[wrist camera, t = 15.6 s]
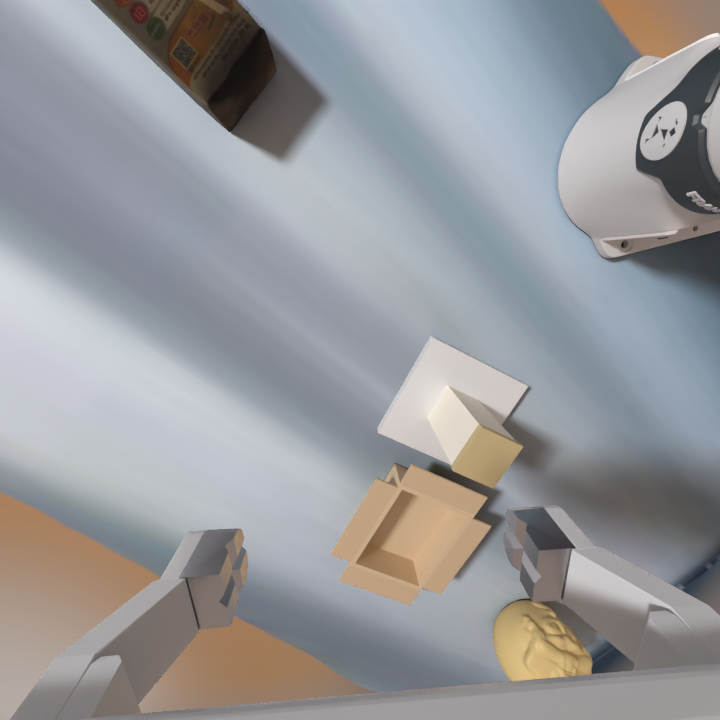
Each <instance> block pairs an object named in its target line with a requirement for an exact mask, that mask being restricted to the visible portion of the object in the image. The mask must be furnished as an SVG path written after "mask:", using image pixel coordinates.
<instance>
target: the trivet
mask: <svg viewBox="0 0 720 720" xmlns="http://www.w3.org/2000/svg"><path fill="white" fill-rule="evenodd" d="M447 386H450V387H452V388H454V389H456V390H458V391H460V392H462V393H464V394H466V395H468V396H471V397H473V398H475V399H477V400H478V401H479V402H480V403H481V404H482V405H483V406H484V407H485V408H486V409H487V410H488V411H489V413H490V414H491V415H492V416H493V417H494V418H495V419H496V420H497V421H498V422H499V423H500V424H501V425H502V424H503V422H504V421H505V420H506V418H507V417H508V415H509V414H510V412H511V411H512V409H513V408H514V407H515V405H516V404H517V402H518V401H519V399H520V398H521V396H522V395H523V393H524V392H525V391H526V389H527V388H528V386H527V385H526V384H524V383H522V382H521V381H519V380H517V379H515V378H513V377H511V376H509V375H507V374H505V373H503V372H501V371H499V370H497V369H495V368H493V367H491V366H489V365H487V364H485V363H483V362H481V361H480V360H478V359H476V358H474V357H472V356H470V355H468V354H466V353H464V352H462V351H460V350H458V349H456V348H454V347H452V346H450V345H448V344H446V343H444V342H442V341H440V340H439V339H437V338H435V337H433V336H430V338H429V340H428V342H427V343H426V345H425V347H424V349H423V350H422V352H421V354H420V355H419V357H418V359H417V361H416V362H415V364H414V366H413V367H412V369H411V371H410V373H409V374H408V376H407V378H406V380H405V381H404V383H403V385H402V386H401V388H400V390H399V392H398V393H397V395H396V397H395V399H394V400H393V402H392V404H391V405H390V407H389V409H388V411H387V412H386V414H385V416H384V418H383V419H382V421H381V423H380V424H379V426H378V428H377V430H378V433H380V434H382V435H384V436H386V437H389V438H391V439H393V440H396V441H398V442H400V443H402V444H405V445H407V446H409V447H411V448H414V449H416V450H418V451H421V452H423V453H425V454H427V455H430V456H432V457H434V458H436V459H439V460H441V461H443V462H446V463H448V464H450V465H451V463H450V461H449V459H448V457H447V455H446V453H445V451H444V449H443V447H442V445H441V444H440V442H439V440H438V438H437V436H436V434H435V432H434V430H433V428H432V426H431V424H430V422H429V420H428V417H429V415H430V413H431V412H432V410H433V409H434V407H435V405H436V404H437V402H438V400H439V399H440V397H441V396H442V394H443V392H444V391H445V389H446V387H447Z"/></svg>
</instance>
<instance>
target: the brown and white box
mask: <svg viewBox="0 0 720 720" xmlns="http://www.w3.org/2000/svg"><path fill="white" fill-rule="evenodd" d="M428 420H429V422H430V424H431V426H432V428H433V430H434V432H435V434H436V436H437V438H438V440H439V442H440V444H441V445H442V447H443V449H444V451H445V453H446V455H447V457H448V459H449V461H450V463H451V468H452V470H453V471H454V472H456V473H458V474H461V475H463V476H465V477H467V478H470V479H472V480H474V481H477V482H479V483H481V484H484V485H486V486H488V487H490V488H494V487H495V486H496V484H497V483H498V481H499V480H500V479H501V477H502V476H503V475H504V473H505V472H506V470H507V469H508V468H509V466H510V465H511V463H512V462H513V461H514V459H515V458H516V457H517V455H518V454H519V452H520V451H521V450H522V448H523V446H522V445H521V444H520V443H519V442H517V441H516V440H515V439H514V438H513V437H512V436H511V435H510V434H509V433H508V432H507V431H506V430H505V429H504V427H503V426H502V425H501V424H500V423H499V422H498V421H497V420H496V419H495V418H494V417H493V416H492V415H491V414H490V413H489V411H488V410H487V409H486V408H485V407H484V406H483V405H482V404H481V403H480V402H479V401H478V400H477V399H475V398H473V397H471V396H468V395H466V394H464V393H462V392H460V391H458V390H456V389H454V388H452V387H450V386H447V387H446V389H445V391H444V392H443V394H442V396H441V397H440V399H439V400H438V402H437V404H436V405H435V407H434V409H433V410H432V412H431V413H430V415H429V417H428Z"/></svg>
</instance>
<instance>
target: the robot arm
mask: <svg viewBox="0 0 720 720" xmlns="http://www.w3.org/2000/svg"><path fill="white" fill-rule="evenodd" d="M558 188H559V194H560V199H561V202H562V205H563V207H564V209H565V211H566V213H567V215H568V216H569V218H570V219H571V220H572V222H573V223H574V224H575V225H576V226H578V227H579V228H580V229H581V230H583V231H584V232H585V233H587V234H588V235H589V236H590V237H591V238H592V240H593V242H594V244H595V247H596V249H597V251H598V252H599V254H600V255H601V256H602V257H604V258H615V257H619V256H623V255H627V254H631V253H635V252H639V251H643V250H647V249H651V248H655V247H659V246H662V245H666V244H670V243H674V242H678V241H682V240H686V239H690V238H694V237H698V236H702V235H706V234H709V233H713V232H717V231H720V34H719V33H716V34H711V35H709V36H706V37H704V38H702V39H700V40H698V41H697V42H694V43H693V44H691V45H689V46H687V47H685V48H683V49H681V50H680V51H678V52H676V53H674V54H672V55H670V56H668V57H666V58H664V59H663V58H659V57H654V56H644V57H641V58H640V59H638V60H636V61H634V62H633V63H631V64H630V65H629V67H628V68H627V69H626V70H625V72H624V73H623V74H622V76H621V77H620V79H619V80H618V82H617V83H616V85H615V87H614V88H613V89H612V90H611V91H610V92H609V93H607V94H606V95H605V96H604V97H602V98H601V99H600V100H598V101H597V102H596V103H594V104H593V105H592V106H591V107H590V108H589V109H588V110H587V111H586V112H585V113H584V114H583V115H582V116H581V118H580V119H579V120H578V121H577V123H576V124H575V126H574V127H573V129H572V131H571V132H570V134H569V136H568V138H567V140H566V143H565V145H564V148H563V151H562V154H561V158H560V163H559V169H558ZM622 242H623V243H624V245H623V247H621V243H622ZM505 520H506V522H507V524H508V525H509V526H508V527H507V528H506V530H505V531H504V540H503V541H504V546H505V551H506V554H507V556H508V559H509V561H510V563H511V564H512V566H513V567H515V568H516V569H517V570H519V571H520V572H521V573H520V581H521V583H522V585H523V586H524V588H525V590H526V592H527V594H528V596H529V597H530V599H531V601H532V602H541V601H562V600H563V603H564V604H565V605H566V606H568V607H569V608H570V609H571V610H572V611H573V612H575V613H576V614H577V615H578V616H579V617H581V618H582V619H583V620H584V621H585V622H586V623H588V624H589V625H590V626H591V627H592V628H594V629H595V630H596V631H597V632H598V633H599V634H601V635H602V636H603V637H604V638H605V639H606V640H608V641H609V642H610V643H611V644H612V645H614V646H615V647H616V648H617V649H618V650H620V651H621V652H622V653H623V654H624V655H625V656H627V657H628V658H629V659H630V660H631V661H632V662H634V663H635V667H634V670H633V671H624V672H613V673H602V674H589V675H578V676H566V677H555V678H543V679H532V680H521V681H509V682H498V683H487V684H476V685H464V686H453V687H442V688H430V689H419V690H407V691H396V692H384V693H372V694H360V695H349V696H337V697H325V698H314V699H303V700H291V701H279V702H267V703H257V704H244V705H233V706H221V707H210V708H198V709H187V710H176V711H163V712H152V713H141V711H140V708H139V705H138V704H139V703H140V702H141V700H142V699H143V698H144V697H145V696H146V694H147V693H148V692H149V691H150V690H151V688H152V687H153V686H154V685H155V684H156V682H157V681H158V680H159V679H160V678H161V677H162V675H163V674H164V673H165V672H166V671H167V669H168V668H169V667H170V666H171V664H172V663H173V662H174V661H175V660H176V659H177V658H178V656H179V655H180V654H181V653H182V652H183V650H184V649H185V648H186V647H187V646H188V644H189V643H190V642H191V641H192V640H193V638H194V637H195V636H196V635H197V634H198V633H199V630H200V629H209V628H218V627H227V626H231V624H232V621H233V618H234V615H235V612H236V608H237V605H238V602H239V601H238V596H237V592H238V591H239V590H240V589H241V588H242V587H243V586H244V582H245V579H246V574H247V567H248V559H247V552H246V550H245V549H244V548H243V547H242V543H243V540H244V536H243V532H242V530H241V529H219V530H207V531H190V532H189V533H188V534H186V535H185V537H184V539H183V541H182V542H181V544H180V546H179V547H178V549H177V551H176V553H175V554H174V556H173V558H172V560H171V561H170V563H169V565H168V566H167V568H166V570H165V572H164V573H163V575H162V577H161V578H160V580H158V581H153V582H152V583H151V584H149V585H148V586H147V587H146V588H144V589H143V590H142V591H141V592H139V593H138V594H137V595H135V596H134V597H133V598H131V599H130V600H129V601H128V602H126V603H125V604H124V605H123V606H121V607H120V608H119V609H117V610H116V611H115V612H114V613H112V614H111V615H110V616H108V617H107V618H106V619H105V620H103V621H102V622H101V623H99V624H98V625H97V626H96V627H94V628H93V629H92V630H91V631H89V632H88V633H87V634H85V635H84V636H83V637H81V638H80V639H79V640H78V641H77V642H75V643H74V644H73V645H71V646H70V647H69V648H67V649H66V650H65V651H64V652H62V653H61V654H60V655H58V656H57V657H56V658H55V659H54V660H53V662H52V663H51V664H50V666H49V667H48V668H47V670H46V671H45V672H44V674H43V675H42V677H41V678H40V679H39V681H38V682H37V683H36V685H35V686H34V688H33V689H32V690H31V692H30V693H29V694H28V696H27V697H26V699H25V700H24V701H23V703H22V704H21V706H20V707H19V708H18V709H17V711H16V712H15V714H14V715H13V716H12V718H11V719H10V720H720V616H719V615H718V614H717V613H716V612H715V611H714V610H713V609H712V608H711V607H709V605H707V604H705V603H703V602H701V601H699V600H698V599H696V598H694V597H692V596H690V595H688V594H686V593H685V592H683V591H681V590H679V589H677V588H676V587H674V586H672V585H670V584H668V583H666V582H664V581H663V580H661V579H659V578H657V577H655V576H653V575H652V574H650V573H648V572H646V571H644V570H642V569H641V568H639V567H637V566H635V565H633V564H631V563H630V562H628V561H626V560H624V559H622V558H620V557H619V556H617V555H615V554H613V553H611V552H609V551H608V550H606V549H604V548H602V547H595V546H594V545H593V544H592V542H591V541H590V540H589V539H588V538H587V537H586V536H585V534H584V533H583V532H582V531H581V530H580V529H579V528H578V526H577V525H576V524H575V523H574V522H573V521H572V520H571V518H570V517H569V516H568V515H567V514H566V513H565V512H564V511H563V509H562V508H561V507H559V506H558V505H548V506H540V507H526V508H514V509H508V510H507V512H506V516H505Z"/></svg>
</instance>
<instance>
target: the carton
mask: <svg viewBox="0 0 720 720" xmlns="http://www.w3.org/2000/svg"><path fill="white" fill-rule="evenodd" d="M487 498H488V497H487V496H485V495H483V494H480V493H478V492H476V491H473V490H471V489H469V488H466V487H464V486H462V485H459V484H457V483H455V482H452V481H450V480H448V479H445V478H443V477H441V476H439V475H436V474H434V473H432V472H429V471H427V470H425V469H422V468H420V467H418V466H415V465H413V464H411V466H410V468H409V469H408V468H406V467H403V466H401V465H399V464H396V463H395V464H394V466H393V467H392V469H391V470H390V472H389V474H388V475H387V477H386V479H385V480H384V481H383V480H381V479H379V478H376V479H375V481H374V483H373V484H372V486H371V488H370V489H369V491H368V493H367V494H366V496H365V498H364V499H363V501H362V503H361V504H360V506H359V507H358V509H357V511H356V512H355V514H354V516H353V517H352V519H351V521H350V522H349V524H348V526H347V527H346V529H345V531H344V532H343V534H342V536H341V537H340V539H339V540H338V542H337V544H336V545H335V547H334V549H333V550H332V552H331V555H333V556H336V557H339V558H341V559H344V560H347V561H349V564H348V566H347V567H346V569H345V571H344V572H343V574H342V575H341V577H340V578H339V581H342V582H345V583H347V584H350V585H353V586H356V587H359V588H362V589H365V590H368V591H371V592H373V593H376V594H379V595H382V596H385V597H388V598H391V599H394V600H397V601H399V602H402V603H405V604H408V605H411V603H412V602H413V600H414V599H415V598H416V596H417V595H418V594H419V592H420V591H421V589H422V588H425V589H428V590H430V591H433V592H436V593H439V594H442V592H443V591H444V589H445V588H446V587H447V585H448V584H449V583H450V581H451V580H452V579H453V577H454V576H455V575H456V573H457V572H458V571H459V569H460V568H461V567H462V565H463V564H464V563H465V561H466V560H467V559H468V557H469V556H470V555H471V553H472V552H473V551H474V549H475V548H476V547H477V545H478V544H479V543H480V541H481V540H482V539H483V537H484V536H485V535H486V533H487V532H488V531H489V529H490V528H491V527H492V526H491V525H490V524H487V523H485V522H483V521H480V520H478V519H475V518H474V516H475V515H476V514H477V512H478V511H479V509H480V508H481V507H482V505H483V504H484V502H485V501H486V500H487Z"/></svg>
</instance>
